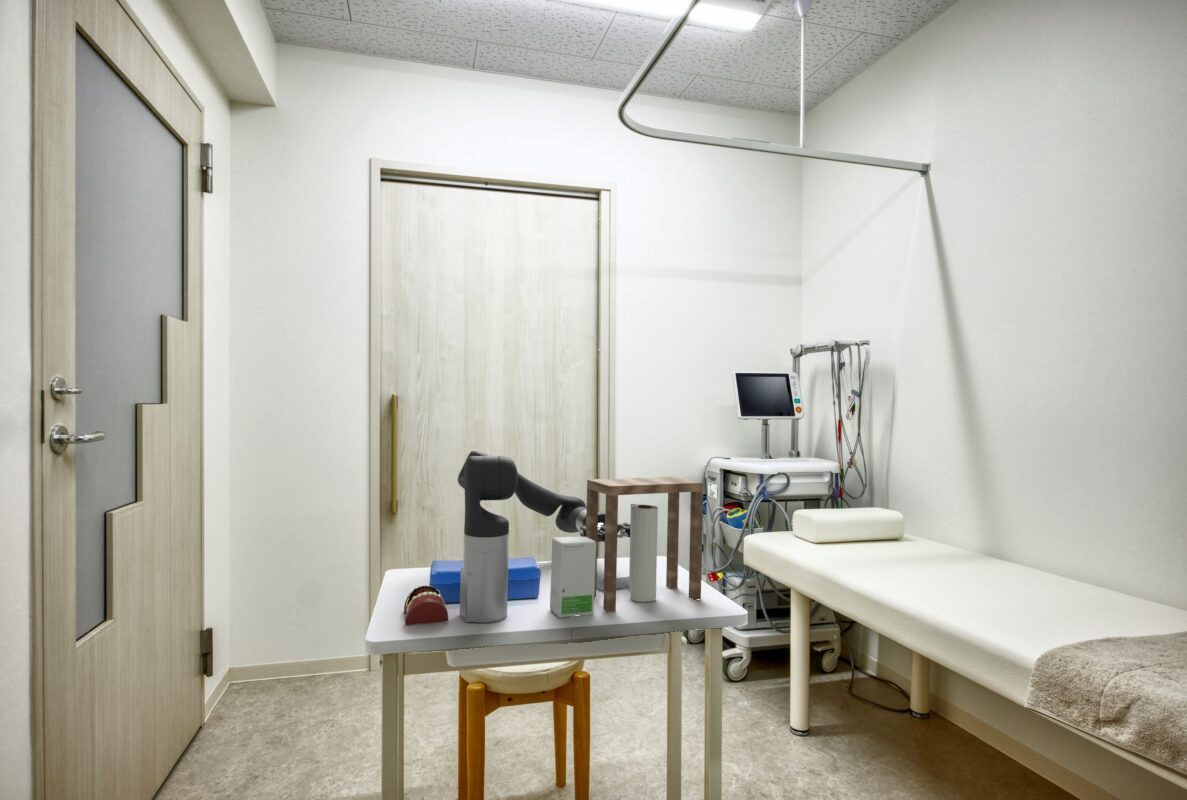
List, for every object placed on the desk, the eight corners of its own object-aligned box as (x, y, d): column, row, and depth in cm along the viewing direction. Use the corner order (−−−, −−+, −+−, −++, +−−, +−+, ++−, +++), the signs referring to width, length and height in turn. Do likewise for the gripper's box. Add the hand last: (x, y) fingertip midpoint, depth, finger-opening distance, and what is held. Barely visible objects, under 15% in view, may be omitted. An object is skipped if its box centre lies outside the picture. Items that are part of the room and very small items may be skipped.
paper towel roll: (656, 603, 143) (658, 508, 143) (630, 602, 143) (632, 507, 143) (654, 593, 150) (656, 503, 150) (628, 593, 150) (630, 502, 150)
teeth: (442, 577, 138) (449, 594, 126) (443, 606, 138) (449, 625, 126) (402, 581, 135) (405, 599, 124) (402, 611, 135) (405, 631, 124)
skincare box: (558, 618, 131) (560, 543, 131) (548, 609, 137) (550, 537, 137) (595, 614, 134) (597, 541, 134) (584, 605, 140) (586, 534, 140)
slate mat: (600, 591, 151) (600, 589, 151) (586, 582, 158) (586, 581, 158) (651, 585, 157) (651, 584, 157) (635, 577, 164) (635, 575, 164)
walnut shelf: (607, 612, 136) (610, 486, 136) (584, 596, 147) (587, 479, 147) (700, 599, 146) (703, 482, 146) (673, 585, 157) (675, 476, 157)
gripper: (617, 536, 175) (646, 549, 160) (569, 540, 169) (595, 554, 154) (617, 509, 175) (646, 519, 160) (570, 512, 169) (595, 523, 154)
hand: (621, 536), depth 157 cm, fingers open, 8 cm apart
